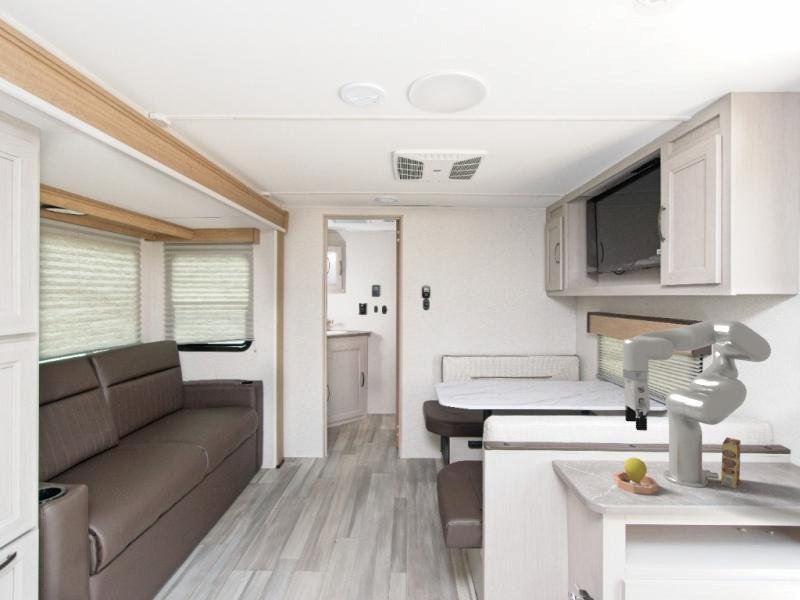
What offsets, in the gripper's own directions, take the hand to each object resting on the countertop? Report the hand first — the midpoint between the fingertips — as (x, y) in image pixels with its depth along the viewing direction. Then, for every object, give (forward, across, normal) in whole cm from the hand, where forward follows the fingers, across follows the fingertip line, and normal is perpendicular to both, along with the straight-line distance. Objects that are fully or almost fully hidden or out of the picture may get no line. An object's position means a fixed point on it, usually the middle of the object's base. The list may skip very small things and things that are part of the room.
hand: (635, 425), depth 136 cm
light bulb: (+21, 0, 0) cm, 21 cm away
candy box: (+22, +9, -33) cm, 40 cm away
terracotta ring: (+21, 0, 0) cm, 21 cm away
